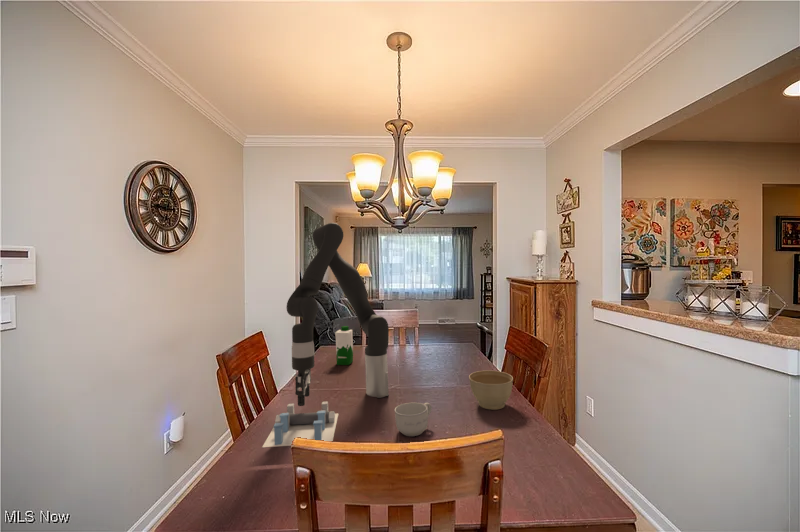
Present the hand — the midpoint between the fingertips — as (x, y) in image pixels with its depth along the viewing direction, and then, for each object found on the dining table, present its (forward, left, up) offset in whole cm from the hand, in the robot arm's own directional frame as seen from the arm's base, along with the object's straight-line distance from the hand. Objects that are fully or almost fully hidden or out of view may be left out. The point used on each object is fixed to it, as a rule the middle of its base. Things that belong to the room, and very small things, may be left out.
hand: (303, 400), depth 124 cm
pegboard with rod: (-1, +5, -8) cm, 10 cm away
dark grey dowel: (-1, 0, -7) cm, 7 cm away
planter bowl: (-69, -6, -9) cm, 69 cm away
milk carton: (-9, -73, -9) cm, 74 cm away
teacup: (-38, +10, -9) cm, 40 cm away
